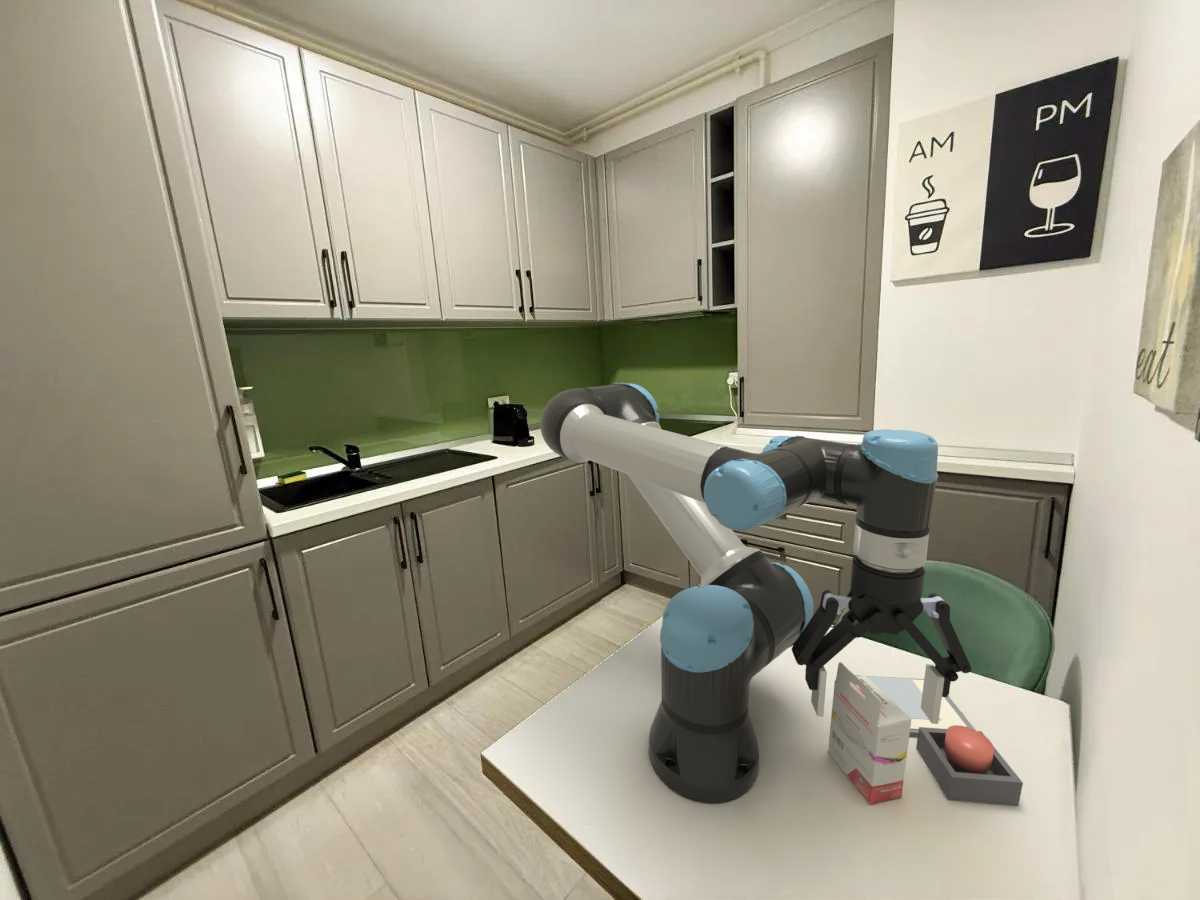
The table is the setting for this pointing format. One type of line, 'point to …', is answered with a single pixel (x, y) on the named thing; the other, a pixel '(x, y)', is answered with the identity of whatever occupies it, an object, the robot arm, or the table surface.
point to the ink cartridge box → (868, 736)
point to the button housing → (968, 773)
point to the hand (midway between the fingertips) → (872, 712)
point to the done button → (969, 748)
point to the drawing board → (918, 703)
